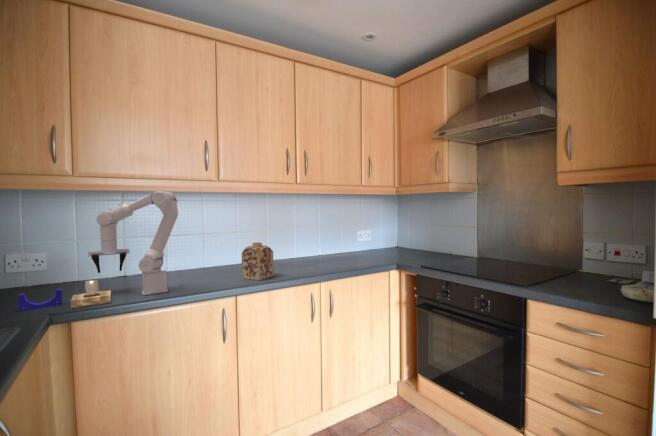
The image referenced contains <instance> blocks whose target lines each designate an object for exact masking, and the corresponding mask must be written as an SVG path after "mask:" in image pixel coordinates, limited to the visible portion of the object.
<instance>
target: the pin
mask: <svg viewBox="0 0 656 436" xmlns="http://www.w3.org/2000/svg"><path fill="white" fill-rule="evenodd" d="M84 285H85V286H84V289H85V293H86V297H93V296H98V292H99V280H98V279H90V280H86V281H84Z"/></svg>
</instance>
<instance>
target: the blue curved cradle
mask: <svg viewBox="0 0 656 436" xmlns="http://www.w3.org/2000/svg"><path fill="white" fill-rule="evenodd" d="M55 291H56V292H55V294H54V295H53V296H52V297H51V298H49V299H47V300H45V301H41V302H35V301H34V302H33V301H31V300H29V299H28V298H27V297H26V293H25V292H23V293H19V294H18V295H17V298H18V299H17V301H18V312H25V311H32V310H37V309H44V307H45V308H51V307H50V306H52V307H57V306H56V305H57V304H58V306H63V289H62V288H56V290H55ZM24 307H25V308H24Z"/></svg>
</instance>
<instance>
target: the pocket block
mask: <svg viewBox="0 0 656 436" xmlns="http://www.w3.org/2000/svg"><path fill="white" fill-rule="evenodd" d="M111 293H112V291H111V289H110V290H109V289H108V290H100V291H98V296H93V297H86V292H85V293H79V294H73V295H72V298H71V300H70V307H71V308H70V309H71V310H73V309H72V308H74V309H80V308H81V309H82V308H89V307H94V306H101V305H106V304H107V305H108V304H111V303H112V296H111V295H112V294H111Z"/></svg>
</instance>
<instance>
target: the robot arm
mask: <svg viewBox="0 0 656 436" xmlns="http://www.w3.org/2000/svg"><path fill="white" fill-rule="evenodd" d="M178 200H179V199H178V198H177V196H176V195H175V194H174V192H171V191H163V190H156V191H154V192H150V193H148V194H146V195H145V196H143V197H142V198H140V199H137V200H135V201H133V202H131V203H130V204H128V203H119V204H118V205H117V206H116V207H114V208H109V209H108V211H101V212H100V213H98V214H97V216H96V222H97V224H99V228H100V229H99V231H100V232H99V233H100V235H99V236H100V250H91V251H87V254H88V255H87V256H88V257H89V258H90V257H91V260H92V261H93V263H94V265H95V267H96V269H97V270H96V271H97V273H98V274H101V267H100V256H111V255H113V256H114V255H119V271H120V272H121V271H122V270H123V266H124V261H125V260H126V258H127V255H128V254H130V249H129V248H120V249H119V248H118V242H117V239H118V237H117V228H118V227H117V225H118V223H119V222H120V221H122V220H125V219H127V218H129V217H131V216H133V215H134V212H135V211H138V210H140V209H142V208H144V207H147V206H149V205H154V206H156V207H157V208H158V209H159V210H160V211H161V213H162V218H161V221H160V222H159V225H158V228H157V230H156V233H155V235H154V237H153V240H152V242H151V245H150V246H149V249H148V250H147V251H146V253H145V254H144V256H143V257H142V258H141V259H140V260H139V262H138V268H139V270H140V271H141V274H142V277H141V278H142V290H141V294H142V296H146V295H153V294H160V293H168V273H167V270H162V267H163V266H164V258H165V254H164V251H165V248H166V245H167V243H168V241H169V238H170V236H171V233H172V231H173V228H174V226H175V224H176V221H177V218H178V216H179V210H178Z"/></svg>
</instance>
